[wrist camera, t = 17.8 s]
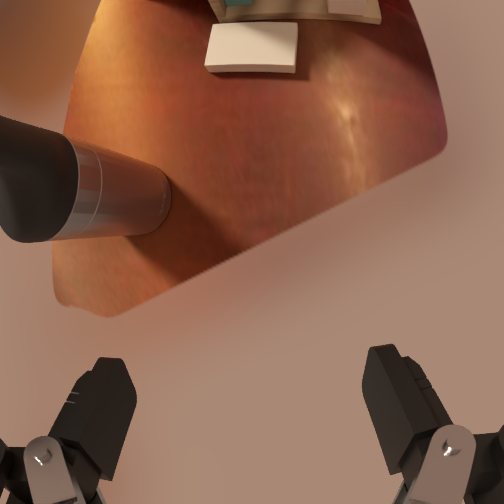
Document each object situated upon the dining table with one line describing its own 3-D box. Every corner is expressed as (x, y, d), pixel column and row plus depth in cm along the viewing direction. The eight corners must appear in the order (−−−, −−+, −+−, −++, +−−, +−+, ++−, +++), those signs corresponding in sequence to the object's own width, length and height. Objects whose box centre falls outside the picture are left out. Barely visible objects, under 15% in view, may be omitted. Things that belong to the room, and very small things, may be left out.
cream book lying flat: (210, 73, 35) (204, 65, 33) (218, 33, 35) (212, 24, 32) (295, 74, 34) (294, 65, 31) (298, 33, 33) (297, 22, 30)
